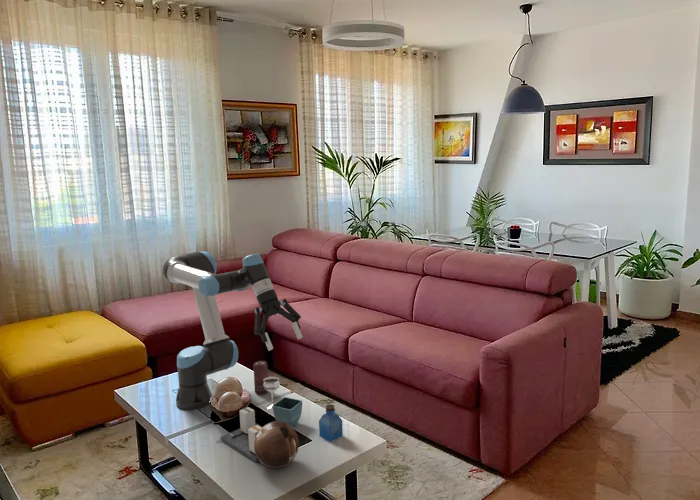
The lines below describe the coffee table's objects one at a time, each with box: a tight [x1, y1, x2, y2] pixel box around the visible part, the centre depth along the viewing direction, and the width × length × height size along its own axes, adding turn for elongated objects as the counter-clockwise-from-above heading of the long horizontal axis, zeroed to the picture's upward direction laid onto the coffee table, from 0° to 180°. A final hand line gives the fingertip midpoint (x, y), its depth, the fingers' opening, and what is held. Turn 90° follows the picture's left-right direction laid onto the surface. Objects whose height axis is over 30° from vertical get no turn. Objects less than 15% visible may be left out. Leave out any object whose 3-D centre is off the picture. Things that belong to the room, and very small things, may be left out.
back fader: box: [239, 406, 256, 434], centre depth 207 cm, size 4×4×8 cm
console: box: [220, 422, 263, 464], centre depth 201 cm, size 22×15×2 cm
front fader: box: [248, 424, 263, 453], centre depth 193 cm, size 4×4×8 cm
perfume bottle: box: [318, 404, 344, 443], centre depth 204 cm, size 6×6×12 cm
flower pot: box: [272, 396, 303, 428], centre depth 214 cm, size 9×9×9 cm
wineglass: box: [263, 376, 280, 410], centre depth 229 cm, size 7×7×12 cm
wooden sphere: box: [254, 420, 300, 469], centre depth 186 cm, size 15×15×15 cm
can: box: [253, 360, 269, 396], centre depth 243 cm, size 6×6×14 cm
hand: (286, 344), depth 206 cm, fingers open, 13 cm apart
